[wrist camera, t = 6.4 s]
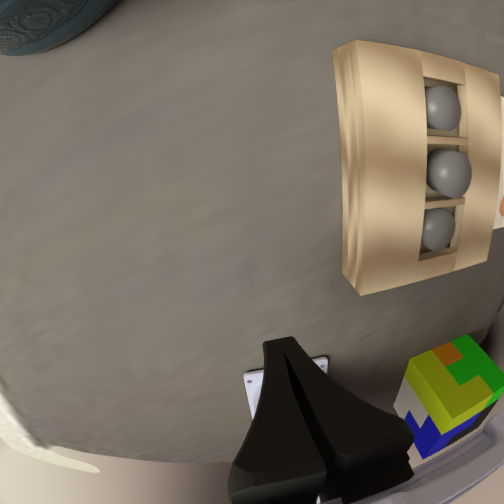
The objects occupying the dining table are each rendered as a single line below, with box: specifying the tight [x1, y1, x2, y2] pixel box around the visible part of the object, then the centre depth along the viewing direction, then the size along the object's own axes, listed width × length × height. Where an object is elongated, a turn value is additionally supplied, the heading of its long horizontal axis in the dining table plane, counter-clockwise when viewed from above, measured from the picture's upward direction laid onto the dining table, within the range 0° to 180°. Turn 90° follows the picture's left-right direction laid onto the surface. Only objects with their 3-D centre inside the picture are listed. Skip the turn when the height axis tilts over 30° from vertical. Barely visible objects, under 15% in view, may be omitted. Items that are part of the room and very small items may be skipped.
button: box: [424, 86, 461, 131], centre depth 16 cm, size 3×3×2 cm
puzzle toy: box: [393, 334, 504, 459], centre depth 28 cm, size 10×10×10 cm
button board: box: [332, 40, 502, 296], centre depth 18 cm, size 16×14×4 cm
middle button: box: [426, 148, 472, 199], centre depth 17 cm, size 3×3×2 cm
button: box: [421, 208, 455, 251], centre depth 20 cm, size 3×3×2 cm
